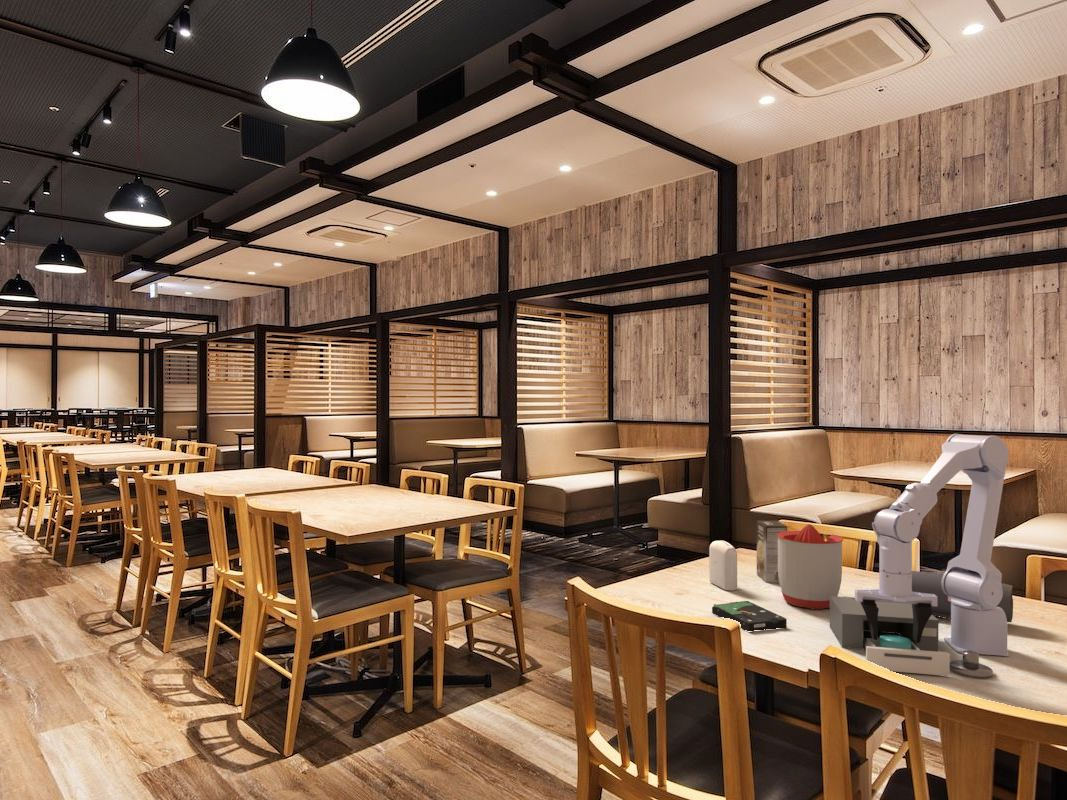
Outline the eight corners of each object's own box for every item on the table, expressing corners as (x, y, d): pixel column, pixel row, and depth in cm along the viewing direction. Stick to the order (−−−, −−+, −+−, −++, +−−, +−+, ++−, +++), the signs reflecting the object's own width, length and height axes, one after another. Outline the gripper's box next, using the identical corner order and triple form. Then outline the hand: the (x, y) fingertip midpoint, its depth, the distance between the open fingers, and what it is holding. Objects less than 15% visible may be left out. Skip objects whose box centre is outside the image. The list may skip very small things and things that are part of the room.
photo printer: (707, 582, 196) (707, 538, 196) (721, 581, 197) (721, 537, 197) (724, 591, 186) (725, 545, 186) (739, 590, 187) (739, 544, 187)
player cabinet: (917, 633, 153) (917, 601, 153) (938, 655, 139) (938, 620, 139) (829, 627, 157) (829, 595, 157) (842, 647, 143) (842, 613, 143)
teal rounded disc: (906, 648, 139) (906, 635, 139) (914, 658, 134) (914, 645, 134) (876, 645, 141) (876, 633, 141) (883, 655, 135) (883, 642, 135)
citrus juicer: (855, 602, 176) (856, 523, 176) (827, 616, 164) (827, 532, 164) (795, 590, 187) (796, 516, 188) (765, 603, 175) (765, 523, 175)
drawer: (922, 647, 143) (922, 628, 143) (949, 676, 128) (949, 654, 128) (849, 642, 146) (849, 622, 146) (867, 669, 131) (867, 648, 131)
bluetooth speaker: (896, 613, 167) (896, 572, 167) (903, 604, 175) (903, 565, 175) (1010, 633, 153) (1011, 587, 153) (1013, 622, 161) (1013, 579, 161)
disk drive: (787, 631, 156) (747, 611, 170) (788, 618, 156) (747, 599, 170) (748, 635, 152) (710, 614, 167) (748, 622, 152) (710, 603, 166)
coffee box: (755, 574, 204) (755, 520, 204) (777, 574, 204) (777, 520, 204) (765, 582, 195) (765, 525, 195) (788, 583, 195) (788, 525, 195)
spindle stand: (983, 666, 134) (983, 648, 134) (999, 680, 127) (999, 661, 127) (943, 663, 135) (943, 645, 135) (956, 676, 128) (956, 657, 128)
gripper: (860, 573, 135) (860, 643, 135) (943, 578, 132) (942, 649, 132) (852, 565, 142) (852, 631, 142) (930, 569, 139) (930, 637, 139)
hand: (895, 639), depth 138 cm, fingers open, 7 cm apart
